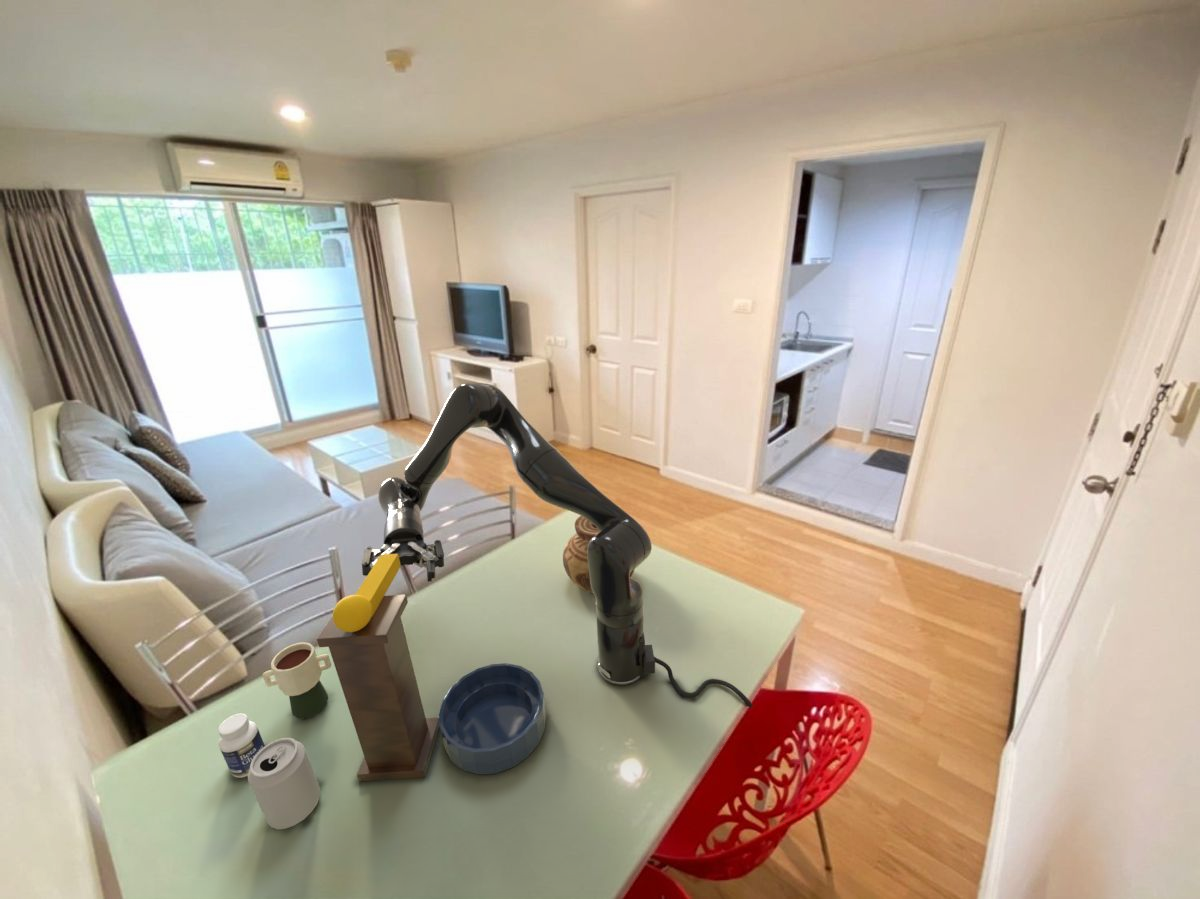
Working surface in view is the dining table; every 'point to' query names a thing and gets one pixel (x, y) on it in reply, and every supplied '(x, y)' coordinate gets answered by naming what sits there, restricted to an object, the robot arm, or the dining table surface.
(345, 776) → the dining table surface
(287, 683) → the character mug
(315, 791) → the can
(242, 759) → the pill bottle
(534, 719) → the bowl
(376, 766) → the stand
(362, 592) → the yellow lever
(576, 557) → the clay pot
